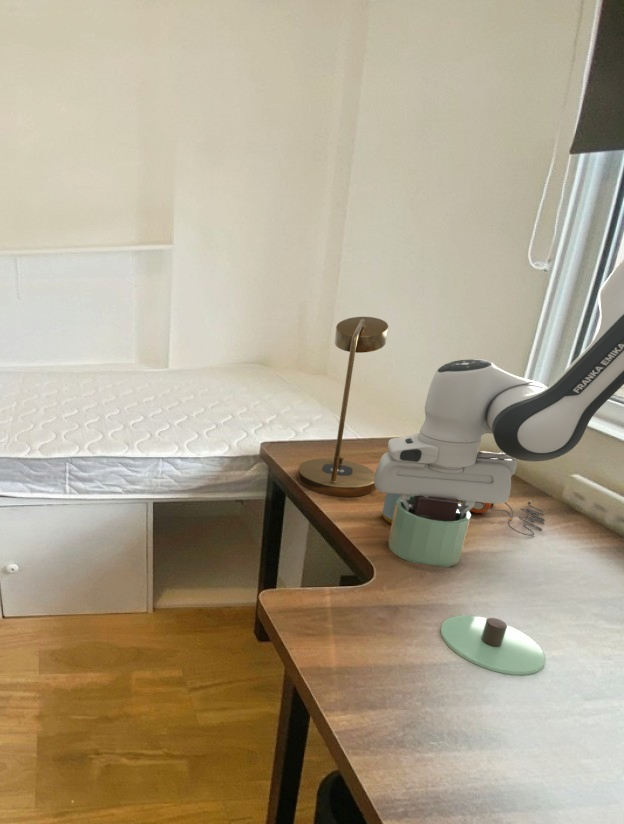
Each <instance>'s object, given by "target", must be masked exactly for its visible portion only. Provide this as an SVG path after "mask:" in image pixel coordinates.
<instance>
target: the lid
mask: <svg viewBox="0 0 624 824" xmlns="http://www.w3.org/2000/svg"><path fill="white" fill-rule="evenodd" d="M440 636H441V639H442V640H443V642H444V643H445V644H446V645H447V647H448V648H450V650H452V651H453V652H454V653H456V654H457V655H458V656H460V657H462V658H463V659H465V660H466V661H468V662H470V663H473V664H474V665H477V666H479V667H481V668H484V669H487V670H489V671H493V672H496V673H501V674H506V675H513V676H526V675H532V674H536V673H538V672H540V671H541V670H542V669H543V668H544V666H545V665H546V655H545V651H544V650H543V649H542V647H541V646H540V645H539V644H538V643H537V642H536V641H535V640H534V639H533V638H531V637H530V636H529V635H527V634H526V633H524V632H522V631H521V630H519V629H518V628H515V627H513V626H510V625H508V624H507V623H506V622H505V621H503V620H501V619H499V618H495V617H482V616H477V615H454V616H451V617H449V618H447V619H445V620H444V621H443V622H442V624H441V625H440Z"/></svg>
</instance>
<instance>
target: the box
mask: <svg viewBox="0 0 624 824" xmlns="http://www.w3.org/2000/svg"><path fill="white" fill-rule="evenodd" d="M413 504H414V507H415V511H414V515H416V516H419V517H423V518H426V519H430V520H437V521H455V516H456V512H457V507H458V504H460V502H459V501H458V499H449V498H440V497H430V496H414V502H413Z"/></svg>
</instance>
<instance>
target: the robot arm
mask: <svg viewBox="0 0 624 824" xmlns="http://www.w3.org/2000/svg"><path fill="white" fill-rule="evenodd" d="M597 300H598V307H599V325H598V329H597V332H596V334H595V336H594V337H593V340H592V341H591V342H590V343H589V345H588V346H587V347H586V348H585V349H584V350H583V351H582V352H581V353H580V355H578V356H577V357H576V358H575V360H573V362H571V363H570V364H569V366H568V367H567V368H565V370H563V372H561V373H560V375H559V376H558V377H557V378H555V380H554V381H553V382H552V383H551V384H550V385H549V386H548V387H547V385H545V384H543V383H541V382H539V381H536V380H533V379H528V378H524V377H521V376H518V375H514V374H512V373H509V372H507V371H505V370H503V369H501V368H500V367H497V365H495V364H494V363H493V362H491V361H490V360H485V359H477V358H476V359H475V358H468V359H458V360H454V361H450V362H448V363H445V364H443V365H442V366H440V367H438V368H437V370H436V371H435V373H434V374H433V377H432V379H431V381H430V385H429V387H428V391H427V395H426V399H425V404H424V415H425V417H424V421H423V424H422V425H421V427H420V430H419V432H418V433H414V434H408V435H403V436H397V437H393V438H390V439H389V440H388V442H387V451H386V452H385V453H384V454H382V455H381V457H380V459H379V460H378V461H379V462H378V464H377V467H376V470H375V472H374V473H375V478H374V484H375V490H377V491H378V492H379V493H381V494H386V493H392V494H399V495H400V497H401V500H402V502H403V504H404V509H405V510H407V511H408V512H410V513H412V514H414V511H415V507H414V504H409V503H408V501H407V500H410V496H411V495H413V496H430V497H440V498H449V499H458V500H462V501H463V502H464V503H462V504H461V506H460V507H459V508H458V509H457V512H456V516H455V520H457V521H458V520H461V519H463V517H464V514H465V513H467V512H468V511H469V512H470V509H472V508H473V507H474V505H475V502H484V503H494V504H495V505H502V504H505V503H504V502H506V503H507V501H508V500H509V499H510V495H511V489H512V488H511V487H512V476H513V475H515V473H516V471H517V467H518V460H519V461H524V462H544V461H545V462H547V461H549V460H553V459H557V458H560V457H562V456H563V455H566V454H567V453H569V452H570V451H572V450H573V449H574V448H575V447H576V446H577V445H578V444H579V443H580V441H581V440H582V437H583V436H584V434H585V432H586V429H587V427H588V425H589V423H590V421H591V419H592V418H593V417H594V415H595V414H596V413H597V412H598V411H599V410H600V408H601V407H603V405H604V404H605V403H606V402H607V401H608V400H610V398H611V397H612V396H614V394H616V393H617V392H618V391H619V390H620V389H621V388H622V387H623V386H624V259H622V260H621V261H620V263H618V265H617V266H616V267H615V268H614V269H613V271H611V273H610V275H609V276H608V277H607V279H606V280H605V281H604V282H603V284H602V286H601V287H600V289H599V292H598V298H597ZM485 434H492V435H493V439H494V442H495V444H496V446H497V447H498V448H499V450H500V451H501V452H490V451H482V450H481V451H479V449H480V447H481V442H482V437H483V435H485ZM494 504H493V505H494Z"/></svg>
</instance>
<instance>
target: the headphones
mask: <svg viewBox="0 0 624 824" xmlns="http://www.w3.org/2000/svg"><path fill="white" fill-rule="evenodd" d="M458 502H459V503H462V504H463V503H464V502H463V501H462V500H458ZM503 504H505V505H506V506H508V508H509V509H510V511H511V513H510V512H509V511H508V510H506V509H494V508H492V507H493V506H494V503H484V502H475V505H474V507H473V508H472V509H470V510H469V512H472V513H474V514H475V513H476V514H482V513H485V512H487V511H496V512H499V511H500V512H505V513H507V514H508V515H509V518H508V520H507V526H508V527H509V528H510V529H512V530H513V531H515V532H517V533H519V534H521V535H524V536H527V537H533V536H535V533H534V531H532V529H530V528H529V527H531V528H534V529H536V530H539V531H543V528H542V527H540V526H538V525H535V524H534V523H536V522H538V523H540V524H545V521H546V519H544V518H543V517H541V516H540V515H545V511H543V510H541V509H540V508H538V507H535V506H533V505H531V504H532V499H530V500H529V501H528V502H527V505H528V506H529V507H530V508H528V507H526V508H522V507H521V508H520V511H522V512H523V513H525V514H528V515H524V516H521V515H519V516H518V519H519V520H521V521H522V522H524V523H522V526H523V527H524V528H525V529H526V530H528V531H529V532H530V533H531V534H528V533H524V532H520V531H519V530H517V529H515V528H514V527H512V526H511V524H510V522H511V521H512V520H513V518H514V515H515V513H514V510H513V508H512V507H511V505H510V504H508V502H507V501H506V502H504V503H503ZM531 508H532V509H531ZM533 509H535V510H533ZM536 510H537V511H536ZM538 511H539V512H538ZM529 515H530V516H529ZM527 526H529V527H527Z"/></svg>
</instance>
